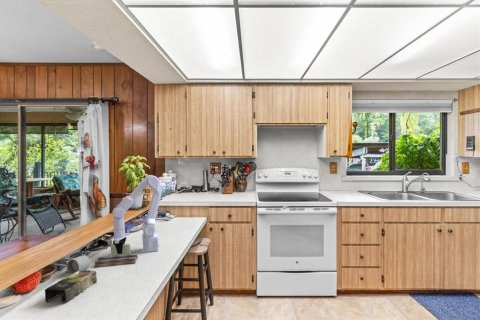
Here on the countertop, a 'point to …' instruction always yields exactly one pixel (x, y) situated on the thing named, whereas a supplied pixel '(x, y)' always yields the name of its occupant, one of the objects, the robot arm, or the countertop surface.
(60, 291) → the mossy channel block
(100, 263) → the track board
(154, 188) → the robot arm
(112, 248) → the door panel
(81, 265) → the grey cylinder
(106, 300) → the countertop surface
